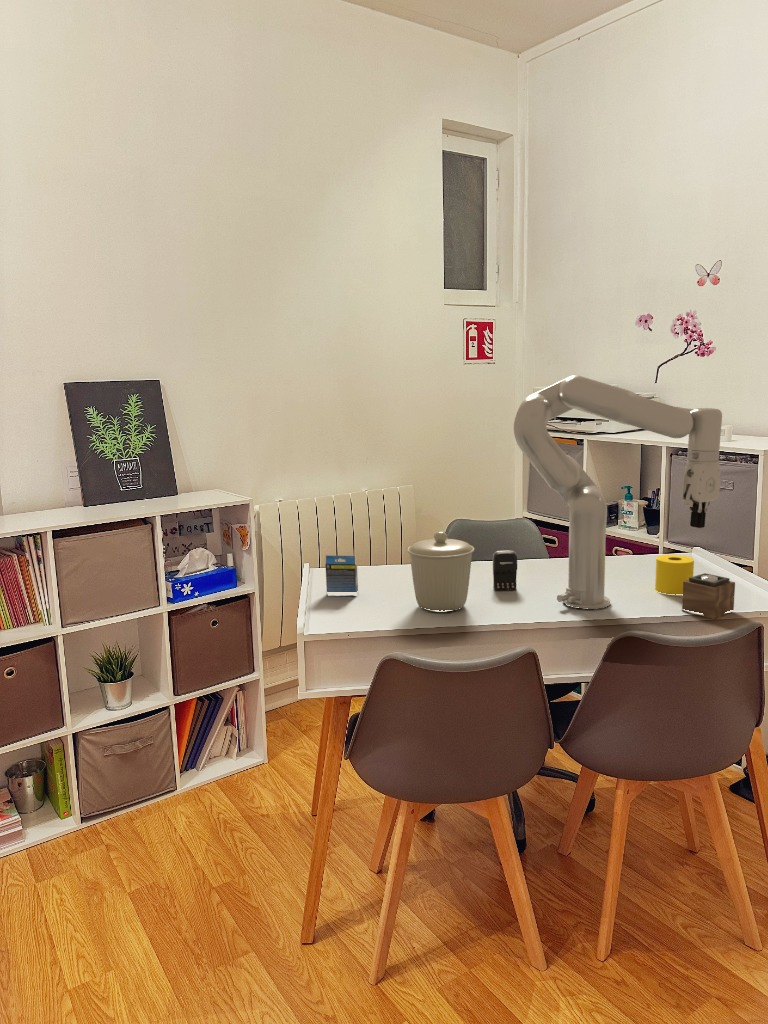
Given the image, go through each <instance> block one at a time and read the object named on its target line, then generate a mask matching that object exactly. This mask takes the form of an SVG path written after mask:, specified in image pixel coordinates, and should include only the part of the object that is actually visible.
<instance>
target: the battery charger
mask: <svg viewBox="0 0 768 1024" xmlns="http://www.w3.org/2000/svg"><path fill="white" fill-rule="evenodd" d="M517 571H518V556H517V553H516V551H514V550H497V551H495V552H494V553H493V555H492V576H493V578H492V579H493V582H492V583H493V586H492V587H493V589H494V590H495V591H516V590H517V576H518V573H517Z"/></svg>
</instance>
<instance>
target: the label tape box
mask: <svg viewBox="0 0 768 1024" xmlns="http://www.w3.org/2000/svg"><path fill="white" fill-rule="evenodd" d="M336 560H341V561H336ZM342 560H343V561H342ZM325 580H326V581H325V583H326V584H325V585H326V593H327V592H357V591H358V592H359V583H358V582H359V579H358V566H357V565H356V556H355V555H332V554H331V555H329V554H325Z"/></svg>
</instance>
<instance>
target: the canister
mask: <svg viewBox="0 0 768 1024" xmlns="http://www.w3.org/2000/svg"><path fill="white" fill-rule="evenodd" d="M406 552H407V553H408V554H409V559H410V568H411V574H412V582H413V583H412V584H413V588H414V589H413V590H414V596H415V600H416V603H417V605H418V607H420V608H421V607H422V608H426V609H430V610H439V611H441V610H443V611H445V610H455V609H459V608H461V607H462V608H463V607H464V606H465V604H466V603H467V600H468V595H469V594H468V593H469V585H470V578H471V577H470V576H471V568H472V558H473V556H472V555H473V553H474V552H475V547H474V546H473V545H471V544H470V543H468V542H467V541H464V540H459V539H455V538H448V535H447V533H446V532H445V531H437V532H435V533H434V535H433V538H430V539H422V540H419V541H417V542H415V543H412V545H409V546H408V548H407V549H406ZM422 608H421V609H422ZM462 608H461V609H462ZM459 610H460V609H459Z"/></svg>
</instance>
